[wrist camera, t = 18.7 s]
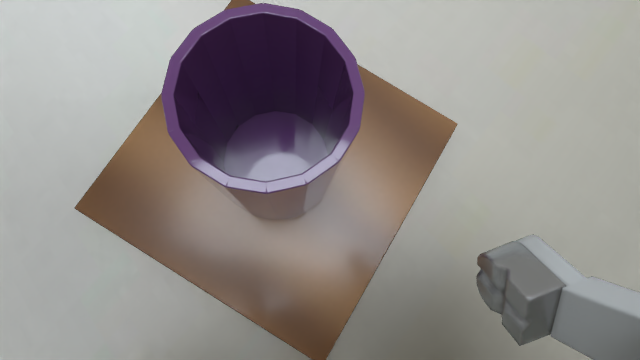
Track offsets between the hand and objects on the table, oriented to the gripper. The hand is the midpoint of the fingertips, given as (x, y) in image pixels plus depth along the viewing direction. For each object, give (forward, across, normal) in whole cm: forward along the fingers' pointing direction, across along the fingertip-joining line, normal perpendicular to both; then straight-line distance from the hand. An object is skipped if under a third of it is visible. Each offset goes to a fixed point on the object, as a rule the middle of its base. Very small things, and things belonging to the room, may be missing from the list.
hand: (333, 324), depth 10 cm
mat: (+14, 0, +4) cm, 14 cm away
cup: (+14, 0, +3) cm, 14 cm away
